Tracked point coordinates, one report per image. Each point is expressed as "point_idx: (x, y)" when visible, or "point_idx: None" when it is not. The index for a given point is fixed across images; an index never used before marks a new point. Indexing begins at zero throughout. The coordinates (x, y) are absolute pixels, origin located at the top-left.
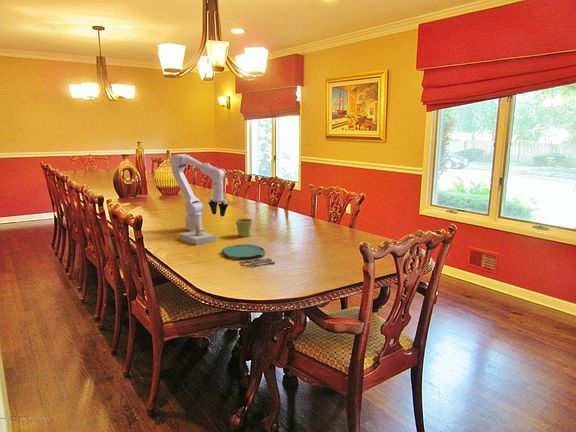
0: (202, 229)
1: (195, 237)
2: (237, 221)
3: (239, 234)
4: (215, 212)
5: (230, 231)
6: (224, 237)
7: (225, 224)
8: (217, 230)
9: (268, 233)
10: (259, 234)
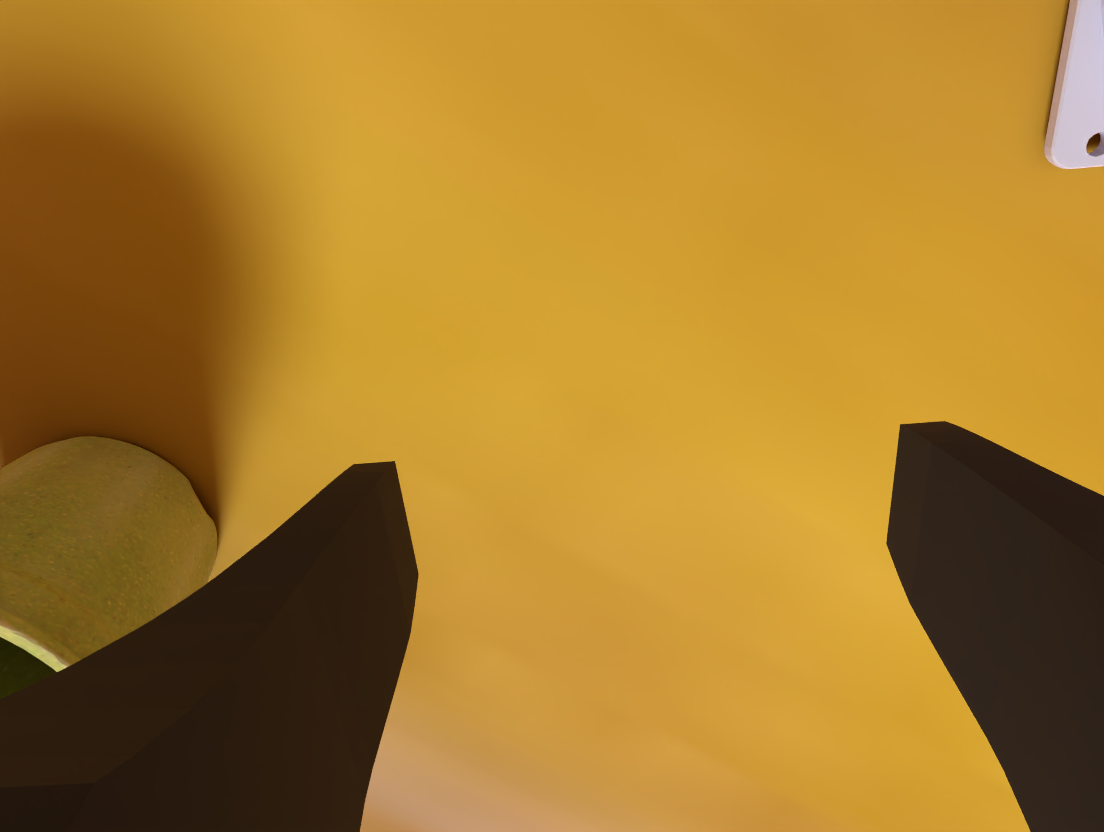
0: (1061, 79)
1: None
2: None
3: (54, 449)
4: (911, 560)
5: (533, 501)
6: (135, 150)
7: None
8: (773, 352)
9: None
10: None
